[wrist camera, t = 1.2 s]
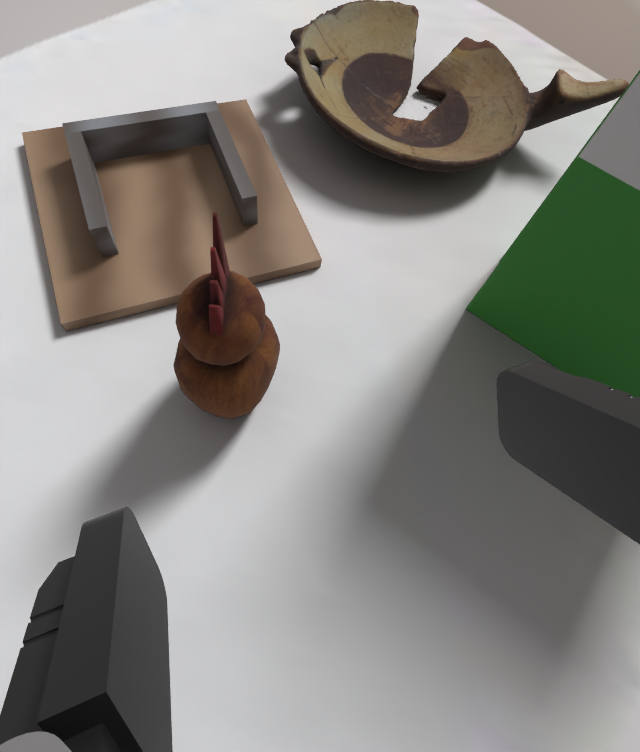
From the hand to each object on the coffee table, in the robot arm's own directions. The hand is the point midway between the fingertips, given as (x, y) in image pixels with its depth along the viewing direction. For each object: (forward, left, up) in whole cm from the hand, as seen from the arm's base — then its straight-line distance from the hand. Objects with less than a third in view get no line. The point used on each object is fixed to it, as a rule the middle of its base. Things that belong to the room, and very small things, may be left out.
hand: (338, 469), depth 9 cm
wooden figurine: (0, +12, -22) cm, 24 cm away
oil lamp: (+27, +33, -22) cm, 47 cm away
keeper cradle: (0, +30, -21) cm, 36 cm away
